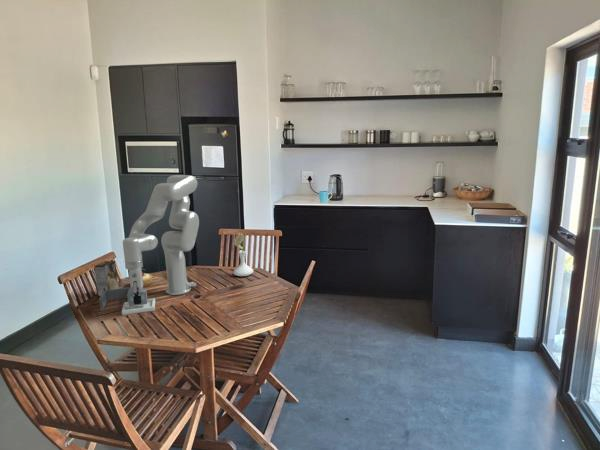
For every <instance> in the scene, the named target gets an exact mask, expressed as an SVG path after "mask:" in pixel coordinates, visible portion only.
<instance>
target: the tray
mask: <svg viewBox="0 0 600 450" xmlns="http://www.w3.org/2000/svg"><path fill="white" fill-rule="evenodd" d="M147 299H148V302H147V304H144V305H137V306H129V303H128V301H124V302H123V305H122V309H121V316H122V317H123V316H127V315H128V316H129V315H136V314H143V313H149V312H151V313H152V312H155V310H156V298H155V297H154V298H147Z"/></svg>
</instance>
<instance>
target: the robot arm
mask: <svg viewBox="0 0 600 450" xmlns="http://www.w3.org/2000/svg"><path fill="white" fill-rule="evenodd" d="M197 188H198V180H197V178H196V177H195V176H194V175H190V174H185V175H184V174H174V175H173V174H172V175H170V176H168V177H167V179H166V182H162V183H158V184H156V185H154V187H153V190H152V193H151V195H150V198H149V201H148V203H147V207H146V210H145V211H144V212H143V214H141V215H140V216H139V217H138V219H137V220H135V222H134V223H133V225H132V227H131V229H130V232H129V235H128V237H126V238H124V239H123V240H122V249H123V257H124V264H125V265H124V266H125V267H124V268H125V269H126V270H128V278H129V279H128V280H129V286H130V287H131V290H133V299H134V304H141V303H142V302H141V295H140V289H144V287H143V277H142V272H143V271H142V270H143V269H142V268H143V267H144V264H143V254H142V252H147V251H153V250H154V249H156V248H157V246H158V244H159V241H158V238H157V237H156V236H155V235H153V234H150V233H149V234H148V233H145V231H146V230H147V228H148V227H150V226H151V225H152V224H153V223H155V222H158V221H160V220H161V219H163V218H164V216H165V213H166V211H167V207H168V205H169V202H171V201H172V204H171V205H172V206H171V209H170V215H169V219H168V224H169V226H170V228H172V229H177V230H178V231H176V230H170V231H165V232H164V233H163V234H162V236H161V246H162V250H163V253H164V258H165V260H164V261H165V267H166V268H165V270H166V277H167V278H166V279H167V286H168V287H167V288H166V289H165V293H166V295H168V296H179V295H184V294H187V293H189V292H191V289H192V288H191V287H197V282H194V281H189V280H188V278H187V269H186V268H187V267H186V257H185V254H184V252H190V251H192V249H193V248H194V246H195V243H196V239H197V236H198V231H199V227H200V219H199V215H198V214H197V213H196V212H195V211H192V210H190V205H191V201H190V200H191V199H190V196H189V195H190V194H192V193H193V192H195V191H196V190H197ZM179 230H182V231H179ZM141 269H142V270H141ZM137 290H138V291H137Z"/></svg>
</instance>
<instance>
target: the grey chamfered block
mask: <svg viewBox="0 0 600 450" xmlns="http://www.w3.org/2000/svg"><path fill="white" fill-rule="evenodd" d="M137 291H138V290H137ZM147 291H148V290H147V288H142V289H140V295H141V302H142V303H141V304H134V299H133V290H130V291H128V294H127V295H128V301H127V302H128V303H129V306H137V305H144V304H147V302H148V299H149V298H148V292H147Z"/></svg>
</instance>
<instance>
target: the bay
mask: <svg viewBox="0 0 600 450" xmlns="http://www.w3.org/2000/svg"><path fill="white" fill-rule="evenodd" d="M130 290H131V286H130V287H129V286H128V287H127V286H126V287H121V288H120V287H119V289H111V290H106V291H103V292H102V294H101V296H99V299H98V301H99V308H100V309H99V310H101V309H103V310H104V308H105V307H106V303H107V301H113V300H121V299H122V300H123V299H126V300H127V301H126V302H128V295H127V294H128V291H130Z"/></svg>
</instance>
